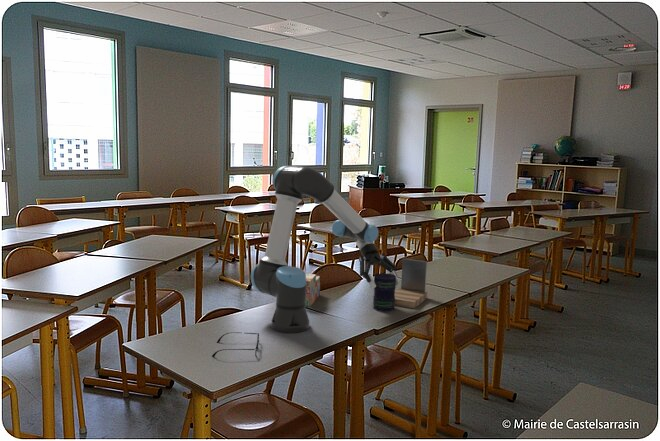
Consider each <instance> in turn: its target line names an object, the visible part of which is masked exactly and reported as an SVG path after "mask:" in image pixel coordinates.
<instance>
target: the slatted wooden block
mask: <svg viewBox="0 0 660 441" xmlns="http://www.w3.org/2000/svg"><path fill="white" fill-rule="evenodd" d="M427 299H428V291H425V292H419V291H412V290H406V289H401V287H399V288H398V289H395V307H396V306H397V307H403V308H408V309H416V308H417V307H418V306H420V305H421V304H422V303H423V302H424V301H425V300H427Z"/></svg>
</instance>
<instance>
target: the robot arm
mask: <svg viewBox="0 0 660 441" xmlns="http://www.w3.org/2000/svg"><path fill="white" fill-rule="evenodd" d="M272 185H273V188H274V189H275V193H274V196H275V197H276V205H275V209H274V213H273V218H272V222H271V227H270V231H269V235H268V239H267V243H266V249H265V254H264V256H262V257H260V259H259V263H257V264H256V265H255V266H254V267H253V268H252V269H251V272H250V281H251V285H252V286H253V288H254V289H255V290H256V291H258V292H260V293H262V294H266V295H269V296H272V297H275V300H276V301H275V302H276V303H275V310H274V313H273V316H272V318H271V328H272V330H274V331H277V332H280V333H285V334H286V333H287V334H288V333H290V334H291V333H292V334H294V333H301V332H305V331H307V330H308V329H309V328H310V323H311V322H310V319H309V315H308V312H307V309H306V308H307V307H305V303H306V274H307V273H306V272H305V270H303V269H302V268H299V267H297V266H291V265H288V263H287V262H286V256H287V252H288V248H289V244H290V239H291V234H292V230H293V225H294V221H295V216H296V212H297V209H298V204H299V203H301V202H302V201H303V197H304V196H306V197H309V198H312V199H314V200H315V202H317V203H319V204H322V205H323V206H324V207H325V208H327V209H328V210H329V211H330V213H332V214H333V215H334V216H335V217H336V218H337V220H335V221H334V222H333V223H332V226H331V232H332V234H333V235H334V236H336V237H340V238H346V239H347V238H349V239H353V240H354V241H355V244H356V245H357V247H358V250H359V252H360V254H361V255H360V256H359V258H358V262H359V276H360V277H362V278H363V279H365V281H366V282H367V283H368V284H369V285H370V288H371V290H374V288H375V287H376V284H375V282H374V277H373V276H372V275H371V273H370V269H371V266H377V265H378V266H380V267H382V268H384V269H385V270H386V271H387V272H389V274H392V275H395V276H396V287H397V286H398V285H400V283H401V282H400V280H399V275H398V274H397V272H396V271H397V270H398V267H397V265H395V264H394V263H393V261H392V260H390V259H389V257H387V255H386V254H385V253H384V252H383V253H381V254H380V253H379V250H378V248H377V246H376V245H375V241H376V240H377V239H378V237H379V229H378V227H377V226H376V225H373V224H369V223H368V222H367V221H366V220H365V219H364V218H363V217H362V216H361V215H360V214H359V213H358V212H357V211H356V210H355V209H354V208H353V207H352V206H351V205H350V204H349V203H348V202H347V201H346V200H345V199H344V198H343V197H342V195H341V194H339V193H338V192H337V191H336V190H335V185H334V184H333V183H332V182H331V181H330V180H329V179H328V178H327V177H326V176H325V175H324V174H322V173H321V172H320V171H318V170H316V169H315V168H313V167H310V166H299V165H291V164H290V165H283V166H281V167H278V169H277V170H276V171H275V172H274V174H273V176H272ZM365 262H366V264H365Z"/></svg>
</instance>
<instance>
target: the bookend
mask: <svg viewBox="0 0 660 441" xmlns="http://www.w3.org/2000/svg"><path fill="white" fill-rule="evenodd" d="M401 263H402V264H401V282H400V283H401V284H400V288H401V289H406V290H412V291H419V292H427V290H426V287H427V286H426V285H427V268H428V266H427V265H428V261H426V260H416V259H410V258H402V262H401Z"/></svg>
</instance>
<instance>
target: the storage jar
mask: <svg viewBox="0 0 660 441" xmlns="http://www.w3.org/2000/svg"><path fill="white" fill-rule="evenodd" d="M373 280H374V282H375V284H376V287H375V288H374V289H373V290H374V292H373V298H372V305H373V306H372V308H373V310H375V311H376V312H387V313H388V312H393V311H394V310H395V309H396V308H395V307H396V305H395V291H396V287H397V286H396V276H395V275H392V274H390V273H381V272H380V273H377V274H374V277H373Z"/></svg>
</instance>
